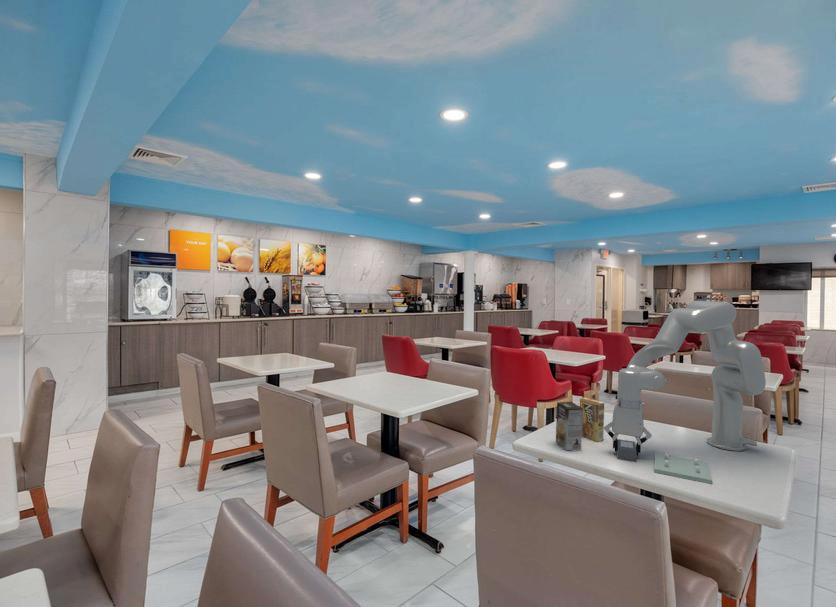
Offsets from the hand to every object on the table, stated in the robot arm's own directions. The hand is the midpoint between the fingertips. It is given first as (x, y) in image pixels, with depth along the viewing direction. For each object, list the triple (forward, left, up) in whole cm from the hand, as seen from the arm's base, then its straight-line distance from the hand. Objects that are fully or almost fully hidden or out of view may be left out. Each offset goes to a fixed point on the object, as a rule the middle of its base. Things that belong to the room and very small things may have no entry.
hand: (626, 452), depth 158 cm
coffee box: (+20, +2, -2) cm, 20 cm away
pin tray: (-17, +3, -1) cm, 17 cm away
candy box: (+14, -13, -2) cm, 19 cm away
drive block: (0, 0, -1) cm, 1 cm away
